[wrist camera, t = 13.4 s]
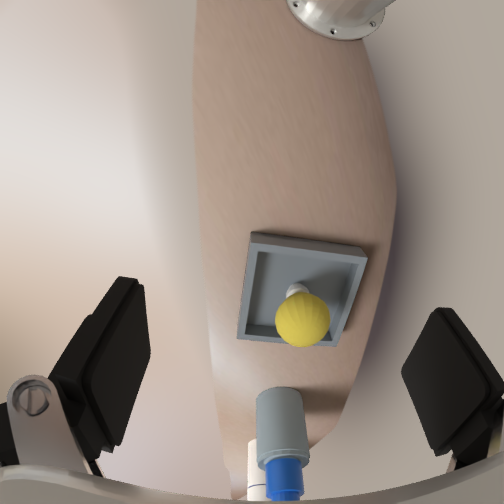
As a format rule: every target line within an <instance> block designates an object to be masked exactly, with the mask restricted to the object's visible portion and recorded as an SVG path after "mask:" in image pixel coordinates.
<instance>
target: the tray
mask: <svg viewBox="0 0 504 504" xmlns="http://www.w3.org/2000/svg"><path fill="white" fill-rule="evenodd" d="M367 259H368V257H367V256H366V255H365V253H364V252H363V251H362V249H361V248H360V247H358V246H351V245H344V244H338V243H331V242H323V241H316V240H309V239H302V238H295V237H287V236H280V235H272V234H265V233H257V232H251V236H250V242H249V249H248V256H247V263H246V270H245V277H244V284H243V291H242V298H241V305H240V312H239V319H238V328H237V339H243V340H253V341H263V342H274V343H285V344H289V343H288V342H286V341H284V340H283V338H282V337H281V336H280V335H279V333H278V331H277V328H276V324H275V317H276V312H277V310H278V308H279V306H280V305H281V304H282V303H283V302H284V300H285V299H286V292H287V290H288V289H289V287H290V286H291V285H292V284H295V283H300V284H302V285H303V286H305V287H306V288H307V289H308V290H309V293H310V294H312V295H314V296H317V297H319V298H320V299H321V300H323V301H324V302H325V304H326V305H327V307H328V309H329V312H330V325H329V329H328V331H327V333H326V334H325V336H324V337H323V338H322V339H321V340H320V341H319V342H318V343H316V344H314V346H333V347H336V346H337V344H338V341H339V339H340V336H341V334H342V331H343V329H344V326H345V323H346V321H347V318H348V315H349V312H350V310H351V307H352V304H353V301H354V298H355V296H356V293H357V290H358V287H359V284H360V281H361V278H362V275H363V272H364V269H365V265H366V262H367Z"/></svg>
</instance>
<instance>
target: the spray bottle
mask: <svg viewBox="0 0 504 504" xmlns="http://www.w3.org/2000/svg"><path fill="white" fill-rule="evenodd" d="M256 450H257V463H258V467H259V468H260V469H261V470H263V471H265V476H266V497H267V498H269V499H271V501H300V496H302V495H303V494H304V485H303V475H302V468H304V467H305V466H306V465H307V464H308V463H309V458H310V454H309V446H308V438H307V431H306V423H305V416H304V409H303V401H302V397H301V394H300V393H299V392H298V391H297V390H295V389H292V388H288V387H275V388H270V389H268V390H265V391H263V392H262V393H261V394H259V395H258V397H257V399H256Z"/></svg>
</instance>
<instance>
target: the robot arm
mask: <svg viewBox="0 0 504 504" xmlns="http://www.w3.org/2000/svg"><path fill="white" fill-rule="evenodd" d="M286 1H287V4H288V7H289V8H290V10H291V12H292V13H293V15H294V16H295V17H296V18H297V19H298V21H300V22H301V23H302V24H303V25H304V26H305V27H307V28H308V29H310V30H312V31H313V32H315V33H317V34H319V35H322V36H324V37H327V38H331V39H335V40H343V41H344V40H356V39H361V38H363V37H365V36H368V35H369V34H371V33H373V32H374V31H375V30H376V29H377V28H378V27H379V26H380V24H381V23H382V21H383V18H384V15H385V7H387V6H388V5H390V4H391V3H392V2H394V1H395V0H286ZM294 5H296V6H297V7H294ZM370 24H371V25H372V26H371V25H370ZM331 32H333V33H334V34H331ZM150 351H151V349H150V341H149V333H148V324H147V314H146V305H145V292H144V286H143V285H142V284H139V282H138V280H137V279H135V278H128V277H122V276H119V277H118V278H117V279H116V280H115V282H114V283H113V285H112V286H111V287H110V289H109V290H108V292H107V293H106V294H105V296H104V297H103V299H102V300H101V302H100V303H99V305H98V306H97V308H96V309H95V311H94V312H93V314H91V315H88V316H87V317H86V318H85V319H84V321H83V322H82V324H81V325H80V327H79V329H78V330H77V332H76V333H75V335H74V336H73V338H72V339H71V341H70V342H69V344H68V345H67V347H66V349H65V350H64V352H63V353H62V355H61V357H60V358H59V360H58V361H57V363H56V365H55V366H54V368H53V370H52V372H51V373H50V375H49V377H48V378H45V377H43V376H39V375H28V376H25V377H23V378H20V379H19V380H17V381H16V382H15V383H14V384H13V385H12V386H11V388H10V389H9V392H8V395H7V402H5V403H2V404H0V504H504V399H502V397H501V396H502V395H503V394H504V381H503V380H502V378H501V376H500V375H499V373H498V372H497V370H496V369H495V367H494V366H493V364H492V363H491V361H490V360H489V358H488V357H487V355H486V354H485V352H484V351H483V349H482V348H481V346H480V345H479V344H478V342H477V341H476V339H475V338H474V337H473V336H472V334H471V332H470V331H469V330H468V328H467V327H466V326H465V324H464V323H463V322H462V320H461V319H460V318H459V316H458V315H457V314H456V313H455V311H454V310H453V309H452V308H442V307H441V308H440V307H438V308H436V309H435V310H434V312H432V313H431V314H430V316H429V318H428V320H427V322H426V324H425V326H424V328H423V330H422V332H421V334H420V336H419V338H418V340H417V341H416V343H415V345H414V347H413V349H412V351H411V353H410V354H409V356H408V358H407V359H406V361H405V363H404V365H403V367H402V371H401V374H402V378H403V380H404V382H405V384H406V387H407V389H408V392H409V394H410V397H411V399H412V401H413V404H414V406H415V409H416V411H417V414H418V416H419V419H420V422H421V424H422V427H423V429H424V432H425V435H426V437H427V440H428V443H429V445H430V447H431V449H433V450H434V453H435V456H440V455H444V454H447V453H448V452H449V451H450V450H452V451H453V454H452V457H451V460H450V463H449V466H448V469H447V472H446V474H443V475H440V476H437V477H434V478H430V479H427V480H423V481H420V482H416V483H412V484H409V485H405V486H400V487H396V488H392V489H387V490H382V491H377V492H372V493H366V494H359V495H353V496H346V497H338V498H328V499H317V500H303V501H302V500H301V501H241V500H227V499H216V498H215V499H214V498H207V497H198V496H191V495H183V494H177V493H170V492H165V491H159V490H154V489H150V488H145V487H140V486H136V485H132V484H128V483H124V482H119V481H115V480H111V479H107V478H106V477H105V475H104V473H103V471H102V469H101V467H100V465H99V464H98V461H97V458H99V456H100V453H101V450H103V451H106V452H109V453H113V450H114V447H115V445H116V446H119V445H121V442H122V440H123V437H124V433H125V430H126V427H127V424H128V421H129V418H130V415H131V412H132V409H133V405H134V403H135V399H136V397H137V394H138V391H139V388H140V385H141V382H142V379H143V377H144V374H145V371H146V368H147V365H148V363H149V359H150V354H151V353H150Z"/></svg>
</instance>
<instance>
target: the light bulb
mask: <svg viewBox="0 0 504 504" xmlns="http://www.w3.org/2000/svg"><path fill="white" fill-rule="evenodd" d="M275 324H276V328H277V331H278V333H279V335H280V336H281V337H282V338H283V340H284V341H286V342H288V343H289V344H291V345H293V346H297V347H307V346H312V345H314V344H316V343H318V342H319V341H320V340H321V339H322V338H323V337H324V336H325V334H326V333H327V331H328V329H329V325H330V312H329V309H328V307H327V305H326V304H325V302H324V301H323V300H321V299H320V298H319V297H317V296H314V295H312V294H310V293H309V290H308V289H307V288H306V287H305V286H303V285H302V284H300V283H295V284H292V285H291V286H290V287H289V289H288V290H287V292H286V299H285V300H284V302H283V303H282V304H281V305H280V306H279V308H278V310H277V312H276V317H275Z"/></svg>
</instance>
